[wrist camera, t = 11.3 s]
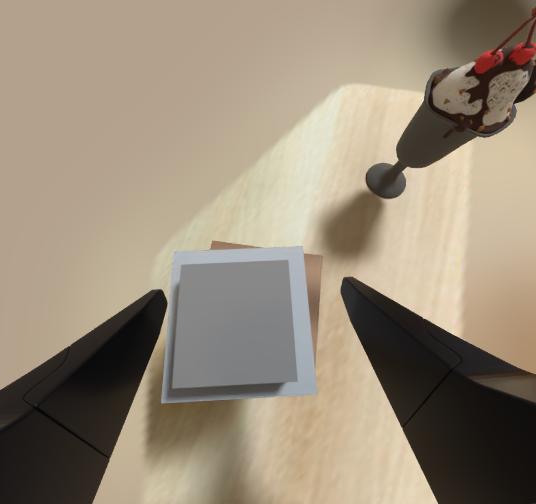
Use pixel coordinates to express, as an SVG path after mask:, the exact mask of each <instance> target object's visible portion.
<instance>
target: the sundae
mask: <svg viewBox="0 0 536 504" xmlns="http://www.w3.org/2000/svg"><path fill="white" fill-rule="evenodd" d="M535 17H536V7H535V8H534V9H533V10H532V17H531V18H530V19H529V20H527V21H526V22H525V23H524V24H523V25H522V26H520V27H519V28H518V29H517V30H516V31H515V32H514V33H512V34H511V36H509V37H508V38H507V39H506V40H505V41H504V42H503V43H502V44H500V45H499V46H498V47H497V48H496V49H495V50H491V51H487V52H485V53H484V54H482V55H481V56H480V57H479V58H478V59H476V60H475V61H474V62H472V63H470V64H467V65H465V66H462V67H457V68H451V69H448V68H447V69H443V70H438V71H435V72H434V73H433V74H432V75H431V77H430V78H429V80H428V82H427V85H426V90H425V96H424V101H423V103H422V105H421V106H420V108H419V109H418V111H417V112H416V114H415V116H414V117H413V119H412V120H411V122H410V123H409V125H408V126H407V128H406V129H405V131H404V132H403V134H402V136H401V138H400V140H399V142H398V144H397V147H396V152H397V157H398V159H399V161H398V162H397V163H396V164H395V165H394V166H393V165H391V164H387V163H379V164H376V165H374V166H372V167H371V168H370V169H369V170H368V172H367V183H368V185H369V187H370V188H371V190H372V191H373V192H374V193H376V194H378V195H380V196H382V197H387V198H392V197H397V196H398V195H400V194H401V193H402V192H403V191H404V189H405V186H406V179H405V177H404V175H403V173H402V171H403V170H404V169H405V168H406V167H411V168H423V167H427V166H429V165H431V164H432V163H434V162H436V161H438V160H440V159H442V158H443V157H445V156H446V155H448V154H449V153H451V152H452V151H454V150H456V149H457V148H459V147H460V146H462V145H463V144H465V143H467V142H468V141H470V140H472V139H474V138H476V137H477V136H479V137H484V138H485V137H490V136H492V135H495V134H497V133H499V132H501V131H502V130H504V129H505V128H506V127H507V126H509V125H510V124H511V123H512V122H513V120H514V118H515V116H516V111H517V110H516V107H515V105H514V104H515V103H518V102H522V101H524V100H526V99H527V98H529V97H530V96H532V95H533V94H535V93H536V60H532V58H533V56H534V55H535V53H536V44H535V43H534V42H531V38H532V34H533V31H534V28H535V25H536V20H535V21H534V23H533V25H532V27H531V30H530V33H529V36H528V39H527V42H524V43H521V44H519V45H518V46H507V47H504V48H502V47H503V46H504V45H505V44H506V43H507V42H508V41H509V40H510V39H511V38H512V37H514V36H515V35H516V34H517V33H518V32H519V31H520V30H521V29H522V28H523V27H524V26H525V25H526V24H527V23H529V22H530V21H531V20H533V19H534V18H535Z"/></svg>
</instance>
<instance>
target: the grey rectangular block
mask: <svg viewBox="0 0 536 504" xmlns="http://www.w3.org/2000/svg"><path fill="white" fill-rule="evenodd" d="M300 395H317V386H316V376H315V365H314V355H313V345H312V335H311V325H310V315H309V304H308V294H307V284H306V274H305V264H304V253H303V246H296V247H273V248H249V249H226V250H203V251H180V252H174V255H173V267H172V279H171V291H170V303H169V314H168V326H167V338H166V350H165V362H164V374H163V386H162V398H161V403H178V402H195V401H213V400H230V399H248V398H265V397H283V396H300Z"/></svg>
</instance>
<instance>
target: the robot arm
mask: <svg viewBox="0 0 536 504" xmlns="http://www.w3.org/2000/svg"><path fill="white" fill-rule="evenodd" d="M341 295H342V298H343V301H344V304H345V307H346V310H347V313H348V315H349V318H350V321H351V323H352V325H353V327H354V329H355V331H356V333H357V336H358V338H359V340H360V342H361V344H362V346H363V348H364V350H365V352H366V354H367V356H368V358H369V361H370V363H371V365H372V367H373V369H374V371H375V373H376V375H377V377H378V379H379V381H380V383H381V385H382V388H383V390H384V392H385V394H386V396H387V398H388V400H389V402H390V404H391V406H392V408H393V410H394V412H395V415H396V417H397V419H398V421H399V423H400V425H401V427H402V428H403V432H404V434H405V436H406V438H407V440H408V442H409V444H410V446H411V448H412V450H413V452H414V454H415V456H416V459H417V461H418V463H419V465H420V467H421V469H422V471H423V473H424V475H425V477H426V479H427V481H428V483H429V486H430V488H431V490H432V492H433V494H434V496H435V498H436V500H437V502H438V504H536V374H533V373H530V372H527V371H525V370H522V369H520V368H517V367H515V366H513V365H511V364H509V363H507V362H505V361H503V360H501V359H499V358H497V357H495V356H493V355H491V354H489V353H488V352H486V351H484V350H482V349H480V348H478V347H476V346H474V345H472V344H470V343H468V342H466V341H464V340H462V339H460V338H459V337H457V336H455V335H453V334H451V333H449V332H447V331H445V330H444V329H442V328H440V327H438V326H437V325H435V324H433V323H431V322H430V321H428V320H426V319H423V317H421V316H419V315H417V314H416V313H414V312H412V311H410V310H409V309H407V308H405V307H404V306H402V305H400V304H398V303H397V302H395V301H393V300H391V299H390V298H388V297H386V296H385V295H383V294H381V293H379V292H378V291H376V290H374V289H373V288H371V287H369V286H367V285H366V284H364V283H362V282H360V281H359V280H357V279H355V278H353V277H344V278H343V281H342V285H341ZM166 309H167V300H166V297H165V295H164V292H163V290H161V289H156V290H151V291H150V292H148V293H147V294H145V295H144V296H143V297H141V298H140V299H138V300H137V301H135V302H134V303H132V304H131V305H129V306H128V307H126V308H125V309H123V310H122V311H120V312H119V313H117V314H116V315H114V316H113V317H111V318H110V319H108V320H107V321H106V322H104V323H103V324H101V325H100V326H98V327H97V328H95V329H94V330H92V331H91V332H89V333H88V334H86V335H85V336H83V337H82V338H80V339H79V340H77V341H76V342H74V343H73V344H71V346H68V347H67V348H65V349H64V350H62V351H61V352H60V353H58V354H57V355H55V356H53V357H52V358H51V359H49V360H47V361H46V362H45V363H43V364H41V365H40V366H38V367H37V368H35V369H33V370H32V371H30V372H29V373H27V374H25V375H24V376H22V377H21V378H19V379H17V380H16V381H14V382H13V383H11V384H9V385H8V386H6V387H5V388H3V389H1V390H0V504H92V503H93V500H94V498H95V495H96V493H97V490H98V488H99V485H100V483H101V480H102V478H103V475H104V473H105V470H106V468H107V465H108V463H109V458H110V457H111V455H112V452H113V450H114V447H115V445H116V442H117V440H118V437H119V435H120V432H121V430H122V427H123V425H124V422H125V420H126V417H127V415H128V412H129V410H130V407H131V405H132V402H133V400H134V397H135V395H136V392H137V390H138V387H139V385H140V382H141V380H142V377H143V375H144V372H145V370H146V367H147V365H148V362H149V360H150V357H151V355H152V352H153V350H154V347H155V345H156V342H157V340H158V337H159V334H160V331H161V327H162V324H163V320H164V316H165V313H166Z"/></svg>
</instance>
